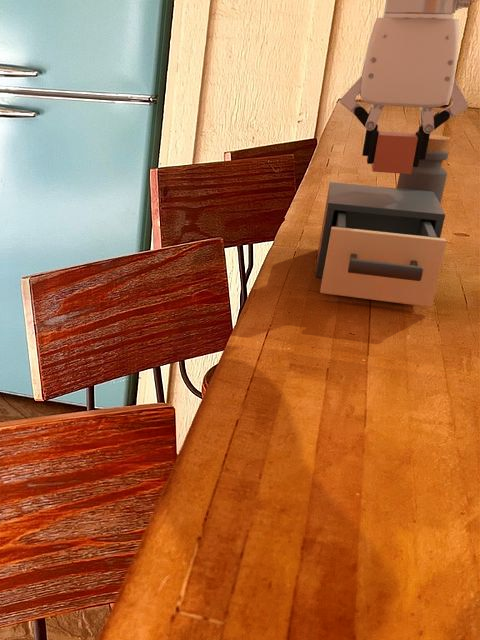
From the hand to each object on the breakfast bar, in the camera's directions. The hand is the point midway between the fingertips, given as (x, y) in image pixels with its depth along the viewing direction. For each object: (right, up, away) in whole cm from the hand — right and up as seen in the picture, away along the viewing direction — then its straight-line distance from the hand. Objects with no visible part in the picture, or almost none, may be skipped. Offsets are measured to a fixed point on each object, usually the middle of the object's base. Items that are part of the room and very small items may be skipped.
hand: (392, 162), depth 110 cm
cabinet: (-2, -13, +2) cm, 13 cm away
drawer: (-6, -17, -10) cm, 20 cm away
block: (0, -1, 0) cm, 1 cm away
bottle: (+8, -9, +14) cm, 18 cm away
